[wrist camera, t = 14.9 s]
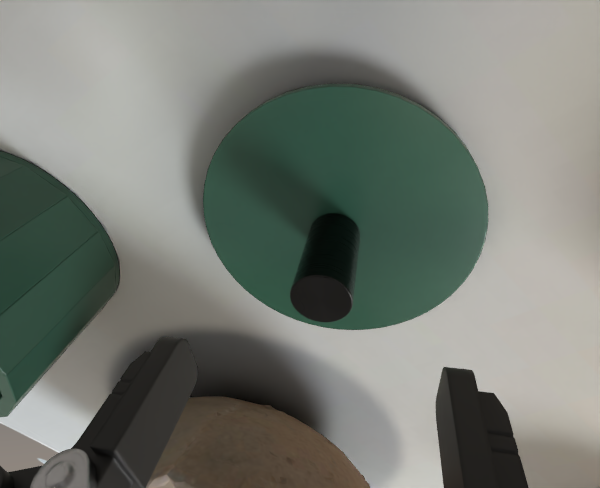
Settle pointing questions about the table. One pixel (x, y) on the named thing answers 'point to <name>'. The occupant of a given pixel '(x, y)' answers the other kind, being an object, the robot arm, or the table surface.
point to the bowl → (249, 450)
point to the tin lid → (345, 206)
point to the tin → (45, 274)
